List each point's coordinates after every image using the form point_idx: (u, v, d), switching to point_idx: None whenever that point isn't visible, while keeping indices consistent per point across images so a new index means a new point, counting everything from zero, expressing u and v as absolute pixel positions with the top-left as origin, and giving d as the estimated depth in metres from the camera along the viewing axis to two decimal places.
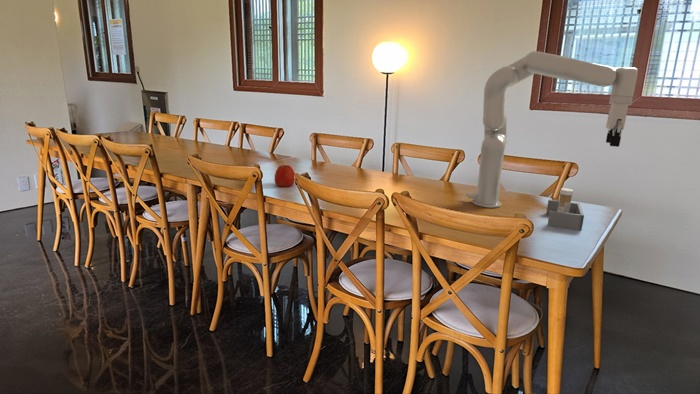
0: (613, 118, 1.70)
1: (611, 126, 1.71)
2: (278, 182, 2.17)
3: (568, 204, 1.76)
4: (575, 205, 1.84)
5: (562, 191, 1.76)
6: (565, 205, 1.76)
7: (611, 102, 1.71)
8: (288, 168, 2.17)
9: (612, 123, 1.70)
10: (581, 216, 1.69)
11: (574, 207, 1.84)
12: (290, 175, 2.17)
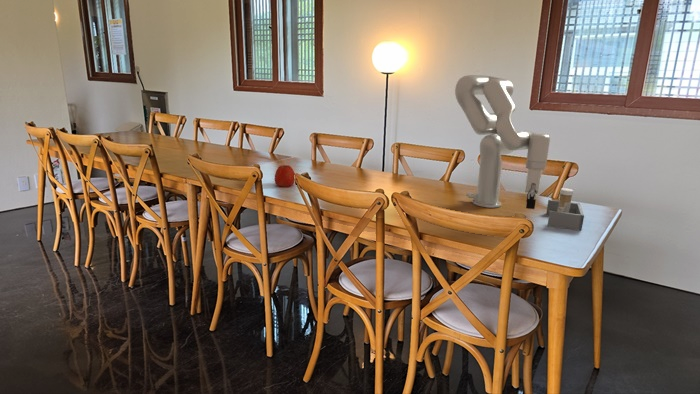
0: (528, 182, 1.77)
1: (526, 190, 1.77)
2: (278, 182, 2.17)
3: (568, 204, 1.76)
4: (575, 205, 1.84)
5: (562, 191, 1.76)
6: (565, 205, 1.76)
7: (526, 166, 1.78)
8: (288, 168, 2.17)
9: (527, 187, 1.77)
10: (581, 216, 1.69)
11: (574, 207, 1.84)
12: (290, 175, 2.17)
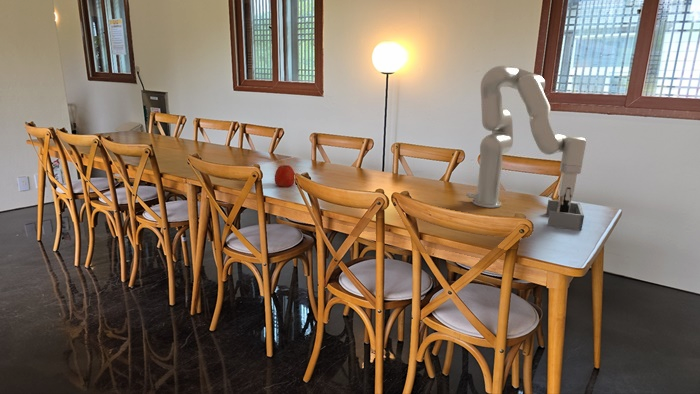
0: (562, 186, 1.72)
1: (561, 194, 1.73)
2: (278, 182, 2.17)
3: None
4: (575, 205, 1.84)
5: None
6: None
7: (561, 170, 1.74)
8: (288, 168, 2.17)
9: (562, 191, 1.73)
10: (581, 216, 1.69)
11: (574, 207, 1.84)
12: (290, 175, 2.17)
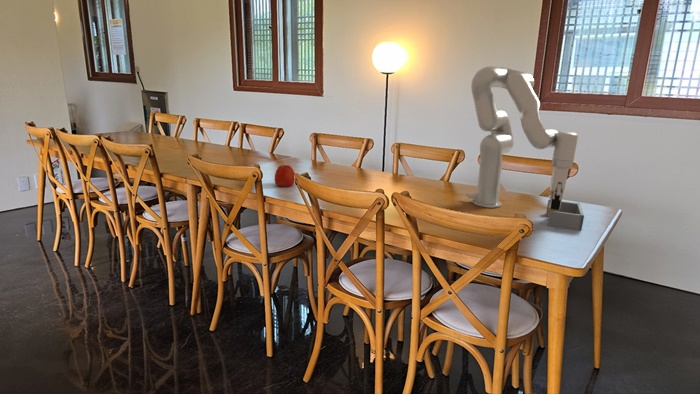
0: (554, 181, 1.73)
1: (552, 189, 1.74)
2: (278, 182, 2.17)
3: None
4: (575, 205, 1.84)
5: None
6: None
7: (553, 165, 1.75)
8: (288, 168, 2.17)
9: (553, 186, 1.73)
10: (581, 216, 1.69)
11: (574, 207, 1.84)
12: (290, 175, 2.17)
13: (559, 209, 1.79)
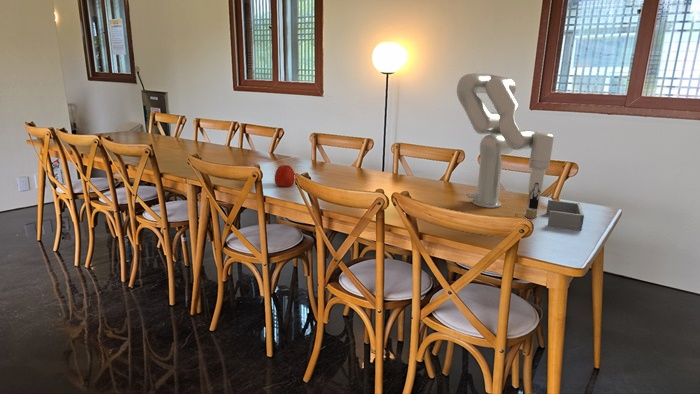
0: (531, 182, 1.76)
1: (529, 189, 1.77)
2: (278, 182, 2.17)
3: None
4: (575, 205, 1.84)
5: None
6: None
7: (530, 166, 1.78)
8: (288, 168, 2.17)
9: (530, 186, 1.77)
10: (581, 216, 1.69)
11: (574, 207, 1.84)
12: (290, 175, 2.17)
13: None
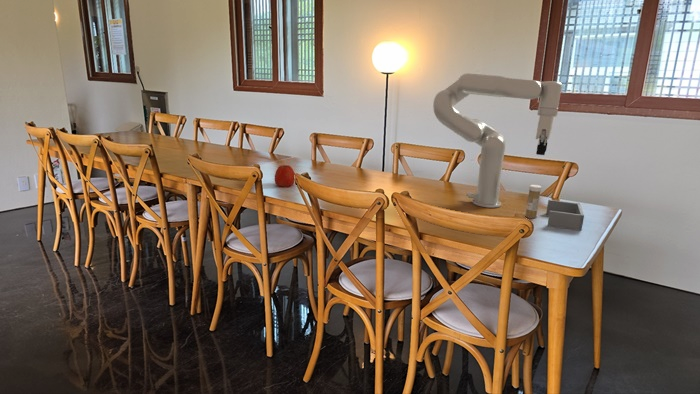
0: (538, 128, 1.81)
1: (537, 136, 1.82)
2: (278, 182, 2.17)
3: (536, 200, 1.80)
4: (575, 205, 1.84)
5: (530, 187, 1.80)
6: (534, 201, 1.80)
7: (538, 113, 1.83)
8: (288, 168, 2.17)
9: (538, 133, 1.82)
10: (581, 216, 1.69)
11: (574, 207, 1.84)
12: (290, 175, 2.17)
13: (536, 210, 1.82)
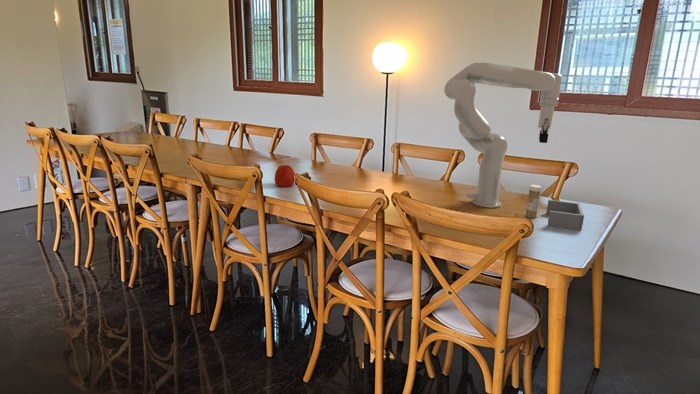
0: (541, 118, 1.93)
1: (540, 125, 1.94)
2: (278, 182, 2.17)
3: (536, 200, 1.80)
4: (575, 205, 1.84)
5: (531, 187, 1.80)
6: (534, 201, 1.80)
7: (540, 104, 1.94)
8: (288, 168, 2.17)
9: (540, 122, 1.93)
10: (581, 216, 1.69)
11: (574, 207, 1.84)
12: (290, 175, 2.17)
13: (536, 210, 1.82)
